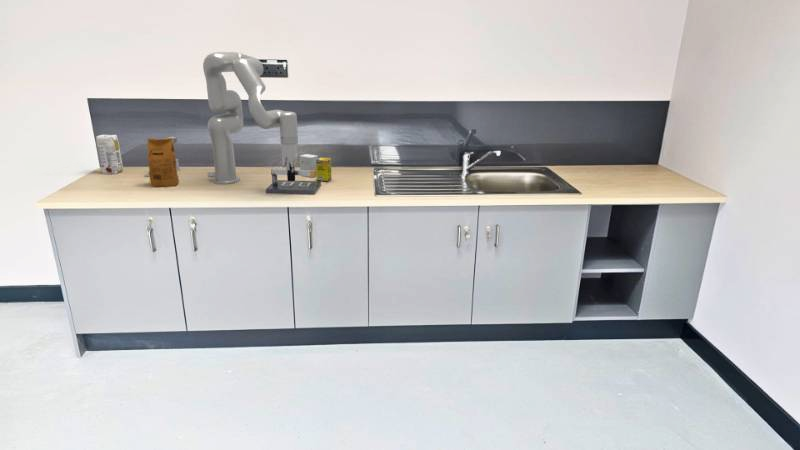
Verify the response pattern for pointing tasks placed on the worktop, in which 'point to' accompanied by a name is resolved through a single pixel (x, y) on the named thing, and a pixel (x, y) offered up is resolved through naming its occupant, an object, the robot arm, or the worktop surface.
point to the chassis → (293, 187)
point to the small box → (308, 163)
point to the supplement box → (323, 169)
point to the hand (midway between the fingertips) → (291, 180)
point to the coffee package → (162, 162)
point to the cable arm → (297, 172)
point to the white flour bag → (109, 154)
